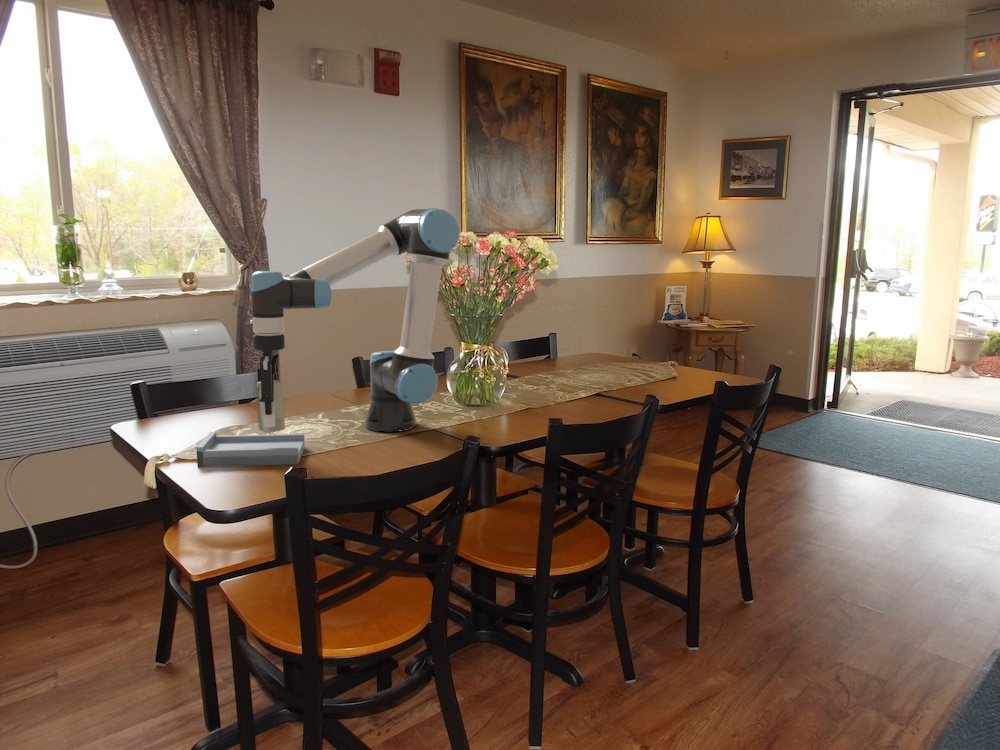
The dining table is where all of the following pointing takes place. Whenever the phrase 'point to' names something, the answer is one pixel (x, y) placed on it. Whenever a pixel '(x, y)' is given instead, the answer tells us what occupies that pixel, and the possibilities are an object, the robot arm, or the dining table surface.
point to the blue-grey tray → (250, 450)
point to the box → (278, 408)
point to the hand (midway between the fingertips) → (271, 422)
